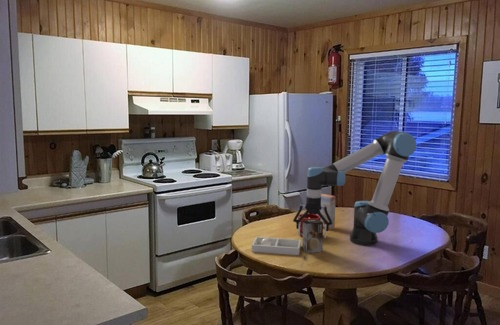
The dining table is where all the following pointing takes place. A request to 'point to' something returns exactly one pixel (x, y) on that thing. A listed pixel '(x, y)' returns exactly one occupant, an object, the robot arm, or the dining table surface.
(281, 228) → the dining table surface
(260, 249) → the divided tray
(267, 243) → the egg
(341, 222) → the dining table surface
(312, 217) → the plant pot
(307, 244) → the coffee box
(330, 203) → the cracker box
